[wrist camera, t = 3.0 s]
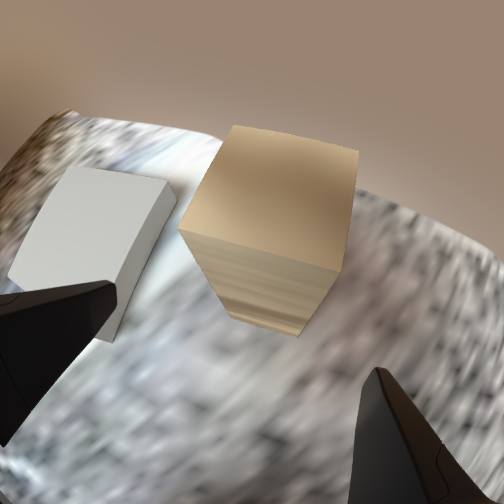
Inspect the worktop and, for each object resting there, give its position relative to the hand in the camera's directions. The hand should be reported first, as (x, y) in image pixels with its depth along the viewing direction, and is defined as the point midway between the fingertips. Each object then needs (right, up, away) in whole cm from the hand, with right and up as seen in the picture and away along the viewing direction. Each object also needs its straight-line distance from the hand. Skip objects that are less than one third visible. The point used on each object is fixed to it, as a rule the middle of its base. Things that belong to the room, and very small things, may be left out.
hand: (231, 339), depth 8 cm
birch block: (+2, -1, +12) cm, 13 cm away
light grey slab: (-15, +3, +15) cm, 22 cm away
